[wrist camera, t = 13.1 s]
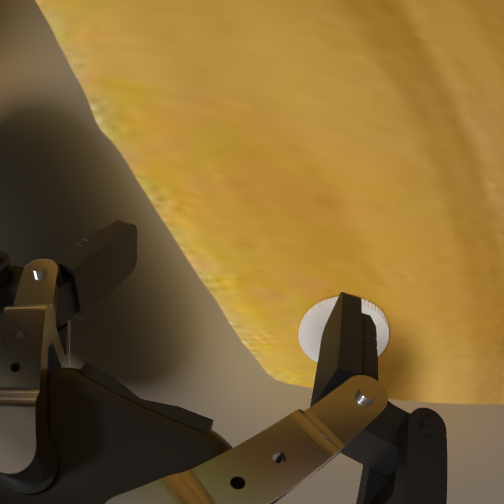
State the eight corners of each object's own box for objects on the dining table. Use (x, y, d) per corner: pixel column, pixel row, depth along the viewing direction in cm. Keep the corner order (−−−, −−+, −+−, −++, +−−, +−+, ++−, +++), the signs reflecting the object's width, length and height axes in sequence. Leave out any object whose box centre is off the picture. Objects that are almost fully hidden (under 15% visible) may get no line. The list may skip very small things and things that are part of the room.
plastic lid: (313, 281, 45) (312, 291, 43) (402, 304, 43) (404, 315, 41) (291, 346, 53) (289, 357, 50) (368, 365, 51) (368, 376, 48)
